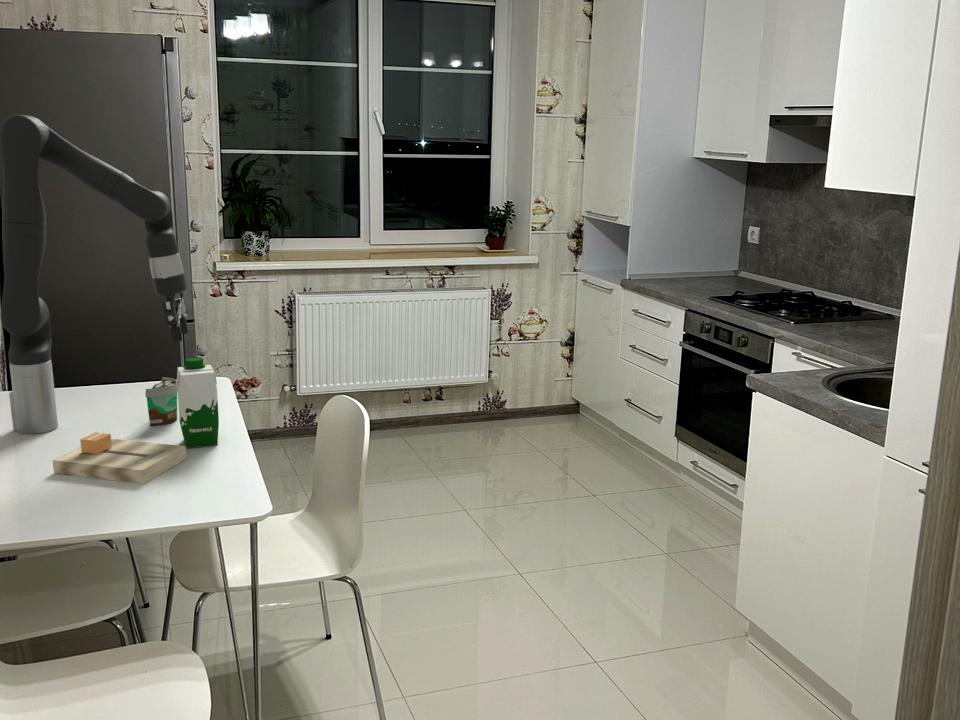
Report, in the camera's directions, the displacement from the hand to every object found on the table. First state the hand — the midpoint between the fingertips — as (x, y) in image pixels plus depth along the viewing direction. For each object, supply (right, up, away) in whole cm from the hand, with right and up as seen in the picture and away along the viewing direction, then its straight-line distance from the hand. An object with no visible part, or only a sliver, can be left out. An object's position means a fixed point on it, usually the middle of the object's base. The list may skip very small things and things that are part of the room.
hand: (181, 337), depth 227 cm
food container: (-5, -21, +6) cm, 23 cm away
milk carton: (+8, -25, -10) cm, 29 cm away
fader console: (-5, -29, -26) cm, 39 cm away
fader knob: (-10, -25, -25) cm, 37 cm away
